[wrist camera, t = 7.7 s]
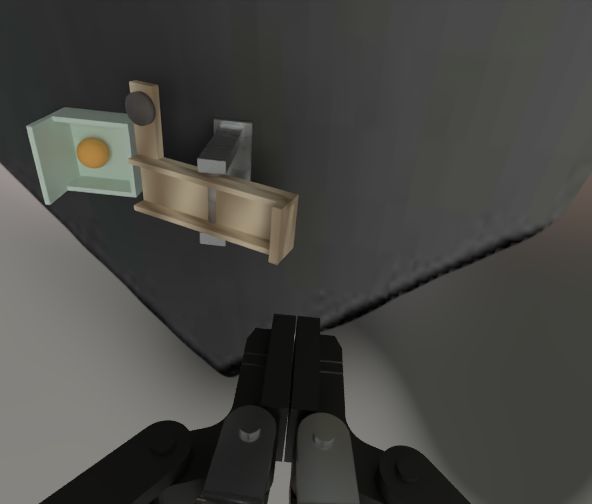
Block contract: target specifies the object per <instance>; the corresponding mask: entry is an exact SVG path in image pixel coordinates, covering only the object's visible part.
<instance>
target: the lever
mask: <svg viewBox="0 0 592 504" xmlns="http://www.w3.org/2000/svg"><path fill="white" fill-rule="evenodd" d="M129 85H130V94H128V95H127V97H126V99H125V109H126V112H127V115H128V116H129V118H130V119H131V121H132V122H134V130H135V139H136V148H137V154H138V155H136V156H133V157H131V158H128V163H129V164H131V165H134V166H138V167H140V169H141V179H142V188H143V197H144V200H143V201H141V202H139V203H137V204H135V205H134V210H136V211H139V212H142V213H145V214H148V215H151V216H154V217H157V218H160V219H163V220H166V221H169V222H172V223H175V224H178V225H181V226H184V227H187V228H190V229H193V230H196V231H199V232H202V233H205V234H208V235H211V236H214V237H217V238H220V239H223V240H226V241H229V242H232V243H235V244H238V245H241V246H244V247H247V248H250V249H253V250H256V251H259V252H262V253H265V254H268V255H269V262H270V263H273V264H276V265H277V264H278V263H279V262H280V261H281V260H282V259H283V258H284V257H285V256H286V255H287V254H288V253H289V252H290V251H291V249H292V248H293V245H294V235H295V225H296V215H297V206H298V196H299V195H298V194H294V193H291V192H287V191H283V190H280V189H276V188H273V187H269V186H265V185H262V184H258V183H255V182H251V181H247V180H244V179H240V178H237V177H233V176H229V175H222V174H212V173H203V172H198V167H197V166H194V165H190V164H186V163H183V162H179V161H176V160H172V159H168V158H165V157H164V155H163V142H162V129H161V116H160V103H159V90H158V85H156V84H151V83H146V82H142V81H137V80H134V81H129Z"/></svg>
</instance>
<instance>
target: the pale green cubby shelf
mask: <svg viewBox="0 0 592 504" xmlns="http://www.w3.org/2000/svg"><path fill="white" fill-rule="evenodd" d="M26 128H27V132H28V136H29V140H30V144H31V148H32V152H33V156H34V160H35V164H36V168H37V172H38V177H39V181H40V185H41V189H42V193H43V197H44V201H45V204H47V205H51V204H52V203H53V202H54V201H55V200H57V199H58V198H59V197H60V196H61V195H63V194H64V193H65V192H66V191H68V190H70V191H80V192H89V193H99V194H108V195H118V196H127V197H137V196H138V195H139V194H140V193H141V192H142V190H143V188H142V179H141V169H140V167H138V166H134V165H131V164H129V163H128V158H131V157H133V156H136V155H138V154H137V148H136V139H135V130H134V122H132V121H131V119H130V118H129V116H128V115H127V114H125V113H116V112H107V111H97V110H88V109H78V108H69V107H64V108H62V109H60V110H58V111H56V112H54V113H52V114H50V115H48V116H46V117H44V118H42V119H39V120H37V121H35V122H33V123H31V124H29V125H27V126H26ZM86 138H96V139H99V140H101V141H102V142H104V143H105V144H106V146H107V147H108V150H109V159H108V161H107V163H106V164H105V165H104V166H102V167H100V168H89V167H86V166H84V165H83V164H82V163H81V162H80V161H79V160H78V158H77V154H76V149H77V146H78V144H79V143H80V142H81V141H82V140H84V139H86Z"/></svg>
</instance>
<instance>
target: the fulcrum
mask: <svg viewBox="0 0 592 504" xmlns="http://www.w3.org/2000/svg"><path fill="white" fill-rule="evenodd" d="M252 141H253V121H245V120H236V119H227V118H217V117H215V118H214V135H213V137H212V138H211V140H210V141H209V142H208V144H207V145H206V147H205V148H204V150H203V151H202V152H201V154H200V155H199V157H198V158H197V166H198V172H203V173H212V174H222V175H229V176H233V177H237V178H240V179H244V180H247V181H251V168H252ZM226 243H227V241H226V240H223V239H220V238H217V237H214V236H211V235H208V234H205V233H202V232H200V244H209V245H219V246H226Z"/></svg>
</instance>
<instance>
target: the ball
mask: <svg viewBox="0 0 592 504" xmlns="http://www.w3.org/2000/svg"><path fill="white" fill-rule="evenodd" d="M76 154H77V158H78V160H79V161H80V162H81V163H82V164H83V165H84V166H86V167H89V168H100V167H102V166H104V165H105V164H106V163H107V161H108V159H109V150H108V147H107V146H106V144H105V143H104V142H102V141H101V140H99V139H96V138H86V139H84V140H82V141H81V142H80V143H79V144H78V146H77V149H76Z"/></svg>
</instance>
